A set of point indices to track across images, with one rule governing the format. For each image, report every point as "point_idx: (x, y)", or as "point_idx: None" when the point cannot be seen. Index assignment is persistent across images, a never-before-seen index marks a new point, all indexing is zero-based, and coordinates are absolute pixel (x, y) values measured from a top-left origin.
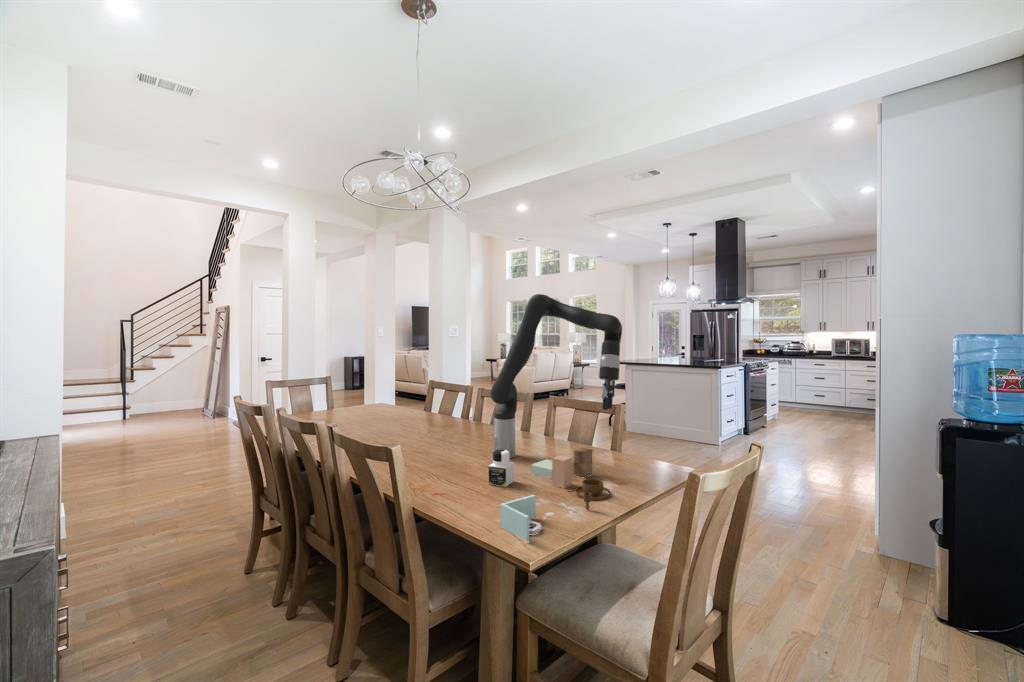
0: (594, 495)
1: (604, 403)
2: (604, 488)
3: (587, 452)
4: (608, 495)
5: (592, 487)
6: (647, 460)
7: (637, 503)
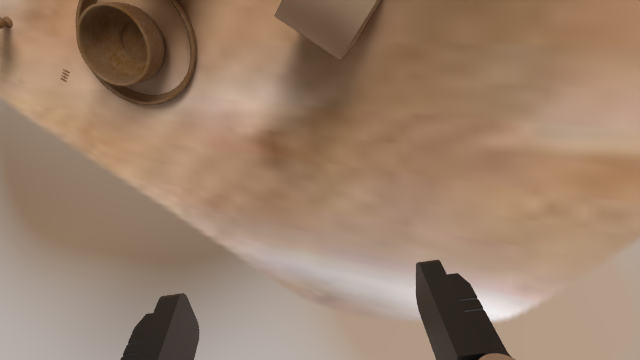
0: (121, 47)
1: (437, 327)
2: (180, 86)
3: (298, 30)
4: (119, 95)
5: (83, 43)
6: (568, 280)
7: (114, 170)
